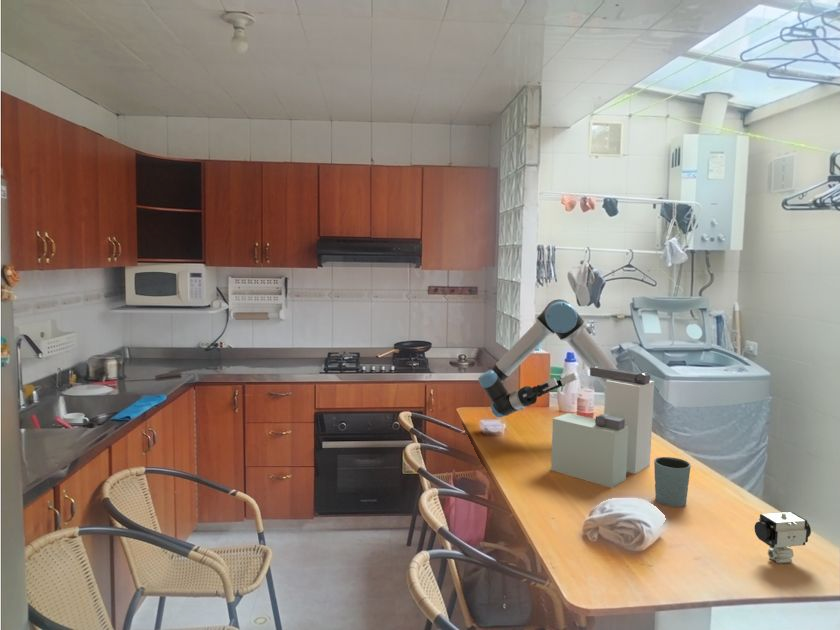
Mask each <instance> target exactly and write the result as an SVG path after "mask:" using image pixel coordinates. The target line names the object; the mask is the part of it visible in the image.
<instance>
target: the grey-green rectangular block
mask: <svg viewBox="0 0 840 630" xmlns="http://www.w3.org/2000/svg"><path fill="white" fill-rule="evenodd" d="M628 427H629V426H625V419H623V418H618V417H613V416H611V415H609V414H604V413H602V414H601V413H600V414H598V415H596V416H595V418H593V417H588V416H584V415H579V414H574V413H570V412H566V413H564V414H562V415H558V416H555V417H553V418H552V432H551V433H552V434H551V436H552V437H551V459H550V461H551V462H550V465H551V466H550V470H551V471H553V472H557V473H561V474H563V475H566V476H570V477H573V478H577V479H579V480H584V481H587V482H591V483H593V484H597V485H600V486H603V487H607V488H611V489H613V488H614V487H616V486H618V485H620V484H621V483H623V482H624V481H626V480H627V472H626V468H627V447H628Z"/></svg>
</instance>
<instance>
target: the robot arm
mask: <svg viewBox="0 0 840 630" xmlns="http://www.w3.org/2000/svg"><path fill="white" fill-rule="evenodd" d="M535 319H536V322H535V323H534V324H533V325H532V326H531V327H530V328H529V329H528V330H527V331H526V332H525V333H524V334H523V335H522V336H521V337H520V339H518V341H516V342H515V344H514V345H513V346H512V347H511V348H509V350H508V351H507V352H506V353H505V354H504V355H503V356H502V357H501V358H500V359H499V360H498V361H497V362H496V363H495V364H494V365H493V366H492V367H491V368H490V369H488V370H487V371H485V372H484V373H482V374H481V375H479V377H478V382H479V384H480V386H481V388H482V389H484V391H485V393H486V394H487V395H488V397H489V399H490V400H491V404H490V409H491V413H492V414H493V415H494V416H495V417H496V418H504V417H508V416H509V415H511V414H513V413H515V412H518V411H520V410H521V411H524V409H525V408H527V407H530V406H532V405H534V404H535V403H536V402H537V399H538V398H540V397H542V395H543V396H544V395H545V394H547V393H548V392H551V391H553V390H556V389H558V388H561V387H563V386H566V385H568V384H571V383H572V382H574V381H576V380H578V379H577V377H576V375H575V373H574V372H572V373H570V374H568V375H565V376H564V377H559V379H558V380H557V379H556V377H553V378H551V379H549V380H547V381H544V382H542V383H540V384H538V385H535V386H533V387H532V386H529V385H524V386H523V387H521V388H519V389H517V390H514V391H512V392H510V393H509V392H508V390H507V388H506V387H505V385H504V384H503V383H504V382H505V381H506V379H508V378H509V376H510V375H511V374H512V373H513V372H515V371H516V369H518V367H519V366H520V365H521V364H522V363H524V361H525V360H526V359H527V358H528V357H529V356H530V355H531V354H532V353H534V351H535V350H536V349H537V348H538V347H539V346H540V345H541V344H542V343H543V342H544V341H545V340H546V339H547V338H548V337H549V336H550V335H556V336H557V337H558V339H560V341H565V342H567V344H568V345H569V346H570V348H572V349H573V351H574V352H575V353H576V355H577V356H578V358H580V359H581V360H582V362H583V364H585V365H586V366H587V368H588V370H590V367H594V366H599V367H605V368H612V369H618V367H617V366H616V365H615V364H614V363H613V362H612V360H611V359H610V357H609V356H608V355H607V354H606V353H605V352H604V350H603V349H602V348H601V346H600V345H599V343H597V342H596V340H595V339H594V338H593V337H592V335H591V334H590V333H589V332H588V330H587V329H586V328H585V324H586V322H585V320H584V319H583V318H582V317H581V315H580V314H579V313H578V312H577V310H576V309H575V307H574V305H572V304H570V303H569V302H568V301H567V300H564V299H554V300H552V301H550V302H549V303H548V304H547V305H546V307H545V308H544V309H543V310H542V312H541V313H540V314H539V315H538V316H537V317H536V318H535ZM595 378H596V379H597V380H598V382H599V383H600V384H601V385H602V387H603V388H604V391H603V394H604V395H605V383H606V381H607V380H610V379H607V378H601V377H595Z"/></svg>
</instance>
